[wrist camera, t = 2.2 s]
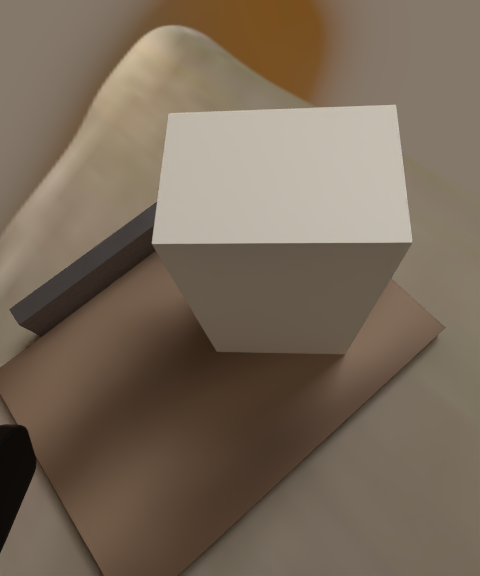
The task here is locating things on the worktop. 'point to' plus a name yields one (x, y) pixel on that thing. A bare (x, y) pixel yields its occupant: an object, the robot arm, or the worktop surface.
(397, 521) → the worktop surface
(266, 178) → the carton
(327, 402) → the shelf board
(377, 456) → the worktop surface
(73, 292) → the rail
